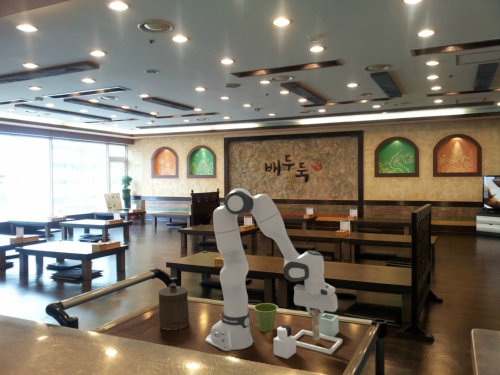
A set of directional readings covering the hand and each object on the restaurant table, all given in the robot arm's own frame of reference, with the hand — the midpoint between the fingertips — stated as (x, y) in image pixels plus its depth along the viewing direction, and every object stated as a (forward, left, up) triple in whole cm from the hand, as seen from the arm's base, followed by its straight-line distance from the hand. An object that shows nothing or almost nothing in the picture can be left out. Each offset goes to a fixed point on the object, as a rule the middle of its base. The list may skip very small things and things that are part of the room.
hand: (315, 317), depth 186 cm
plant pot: (-28, +3, -13) cm, 31 cm away
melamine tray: (0, 0, -13) cm, 13 cm away
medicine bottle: (-8, -14, -13) cm, 21 cm away
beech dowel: (0, 0, -10) cm, 10 cm away
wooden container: (-72, -16, -13) cm, 75 cm away
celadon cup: (+1, +12, -13) cm, 18 cm away
